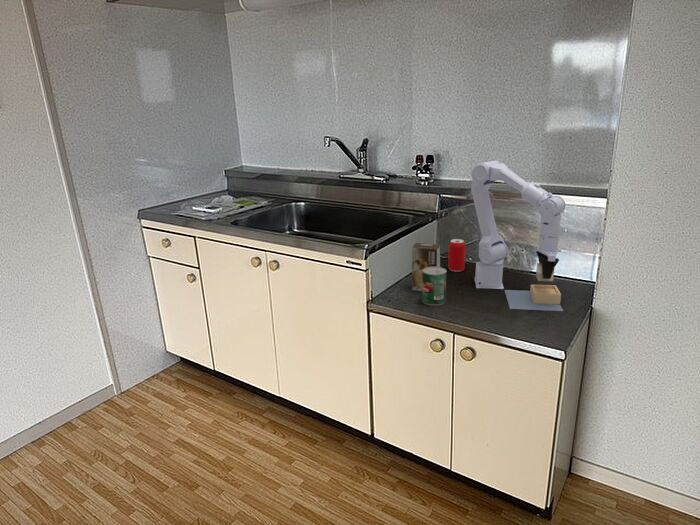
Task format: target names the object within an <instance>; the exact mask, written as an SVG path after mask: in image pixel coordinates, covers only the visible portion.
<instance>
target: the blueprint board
mask: <svg viewBox="0 0 700 525" xmlns="http://www.w3.org/2000/svg"><path fill="white" fill-rule="evenodd" d="M504 293H505V296H506V301H507V303H508V307H509V309H510V310H530V311H533V310H534V311H547V312H548V311H552V312H555V311H556V312H564V309H563V308H562V306H561V299H562V293H561V291H560V290H559V288H558V287H557V285H555V284H553V285H551V284H530V290H516V289H513V290H512V289H504Z"/></svg>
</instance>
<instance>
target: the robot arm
mask: <svg viewBox="0 0 700 525" xmlns="http://www.w3.org/2000/svg"><path fill="white" fill-rule="evenodd" d="M470 173H471V178H472V179H471V185H470V190H471V194H472V198H473V204H474V208H475V211H476V217H477V220H478V225H479V229H480V231H479V232H480V235H481V239H480V240H479V242H478V258H479V260H480V261H476V263H475V273H474V274H475V275H474V282H475V284H474V285H475V288H476V289H495V290H496V289H497V290H499V289H500V290H505V287H504V284H503V272H504V261H505V258H506V257H507V256H508V254H509V247H508V246H507V244H506V243H505V240H504V238H503V236H501V235H500V234H499V233H498V228H497V223H496V220H495V215H494V210H493V206H492V201H491V198H490V197H491V196H490V193H489V189H490V188H491V187H492V185H493V183H495V182H496V181H502V182H504V183H506V184H507V185H508V186H510V187H511V188H514V189H515V190H516V191H518V192H520V193H521V198H522V199H523V200H525V201H526V202H528V203H529V204H531V205H532V206H534V208H536V209H537V210H538V213H539V215H540V228H539V235H538V237H539V238H538V246H537V251H535V254H536V255H537V259H538V263H541V264H542V274H543V278H544V279H550V278H551V275H552V273H553V270H554V271H555V267H556V266H557V264H558V263H559V262H560V259H559V258H558V257H556V256H557V254H558V253H559V252H560V253H561V252H562V248H560V247H559V240H560V239H559V238H560V231H561V230H560V229H561V221H562V220H561V219H562V213H564V211H565V210H566V202H565V200H564V198H562V197H561V196H560V195H553V193H552V192H548V191H546V190H545V189H543V188H542V187H541V184H539V183H535V182H532V183H528V182H526V180H524V179H523V178H522V177H520V176H519V175H517V174H516V173H515V172H514V171H512V170H511V169H510V168H508V166H507V165H506V164H505V163H502V162H501V161H500V160H498V159H495V160H490V161H486V162H477V163H476V165H474V167H473V169H471V172H470Z"/></svg>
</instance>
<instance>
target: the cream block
mask: <svg viewBox="0 0 700 525" xmlns="http://www.w3.org/2000/svg"><path fill="white" fill-rule="evenodd" d="M554 275H555V269H554V270H553V273H552V275H551V278H550V279H544V278H543V274H542V264H541V263H539V262H537V263H536V270H535V276H536V279H537V281H538V282H554V277H555V276H554Z"/></svg>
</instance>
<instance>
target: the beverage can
mask: <svg viewBox="0 0 700 525" xmlns="http://www.w3.org/2000/svg"><path fill="white" fill-rule="evenodd" d="M465 261H466V243H465V240H464V239H460V238H454V239H453V238H452V239H450V241H449V244H448V264H447V268H448V270H449V271H451V272H453V271H454V273H460V272H462V271H464V270H465Z"/></svg>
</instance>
